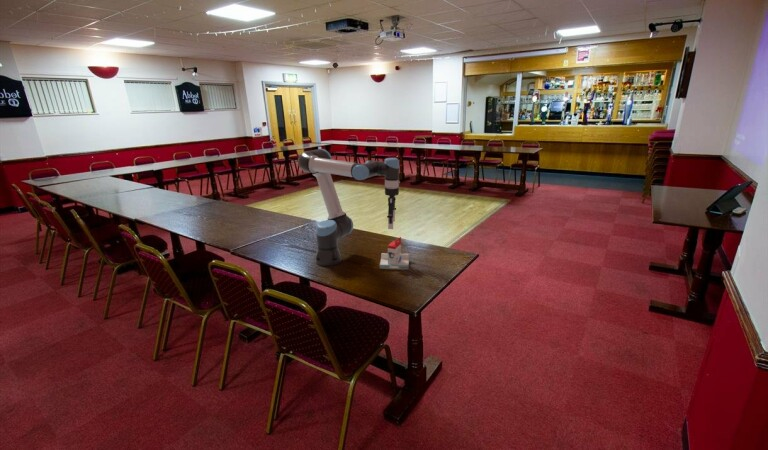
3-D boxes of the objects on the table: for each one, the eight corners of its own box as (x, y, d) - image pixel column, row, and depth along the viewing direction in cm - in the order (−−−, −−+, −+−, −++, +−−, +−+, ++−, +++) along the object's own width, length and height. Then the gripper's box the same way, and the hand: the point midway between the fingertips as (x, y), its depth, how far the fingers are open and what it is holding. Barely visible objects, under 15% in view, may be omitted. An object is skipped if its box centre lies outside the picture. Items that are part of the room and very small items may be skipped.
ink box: (393, 259, 210) (393, 235, 205) (401, 260, 208) (401, 236, 203) (387, 264, 203) (387, 240, 198) (395, 266, 201) (395, 241, 196)
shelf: (379, 269, 201) (379, 261, 199) (381, 260, 212) (381, 253, 211) (408, 269, 200) (408, 262, 198) (408, 260, 211) (408, 253, 210)
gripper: (397, 192, 182) (397, 232, 189) (399, 182, 206) (399, 218, 212) (382, 192, 183) (382, 232, 189) (386, 182, 206) (386, 218, 213)
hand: (391, 225), depth 201 cm, fingers open, 13 cm apart
